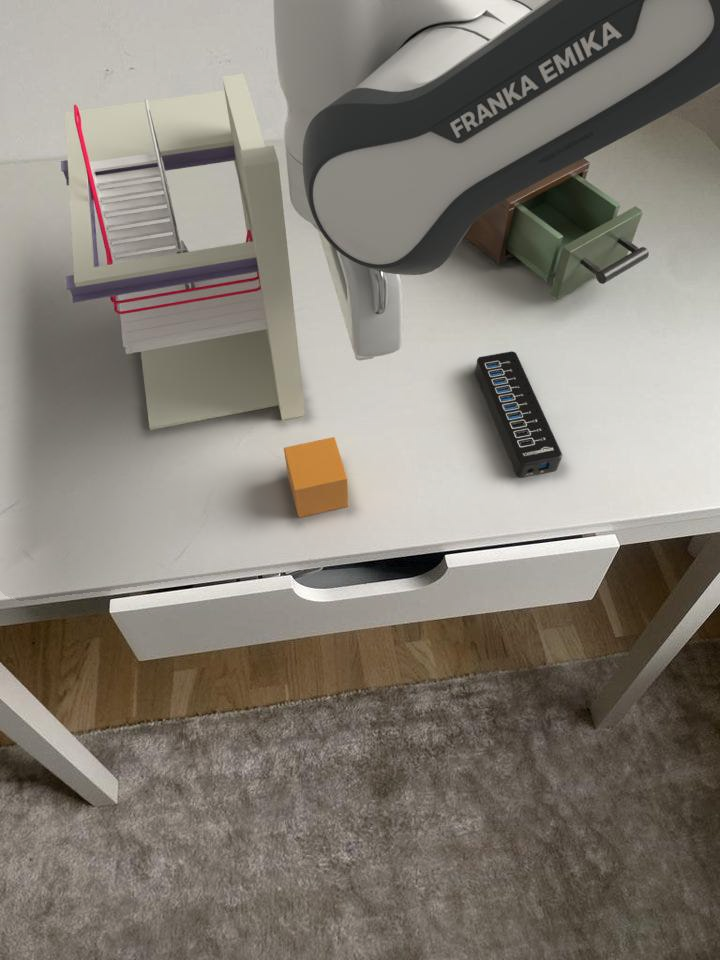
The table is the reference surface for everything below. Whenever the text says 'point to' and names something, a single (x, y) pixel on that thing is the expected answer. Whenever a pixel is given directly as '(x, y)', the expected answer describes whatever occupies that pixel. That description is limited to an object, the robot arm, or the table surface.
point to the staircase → (187, 255)
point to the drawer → (574, 235)
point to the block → (316, 477)
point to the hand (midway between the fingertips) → (352, 314)
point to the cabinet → (497, 220)
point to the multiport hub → (517, 415)
